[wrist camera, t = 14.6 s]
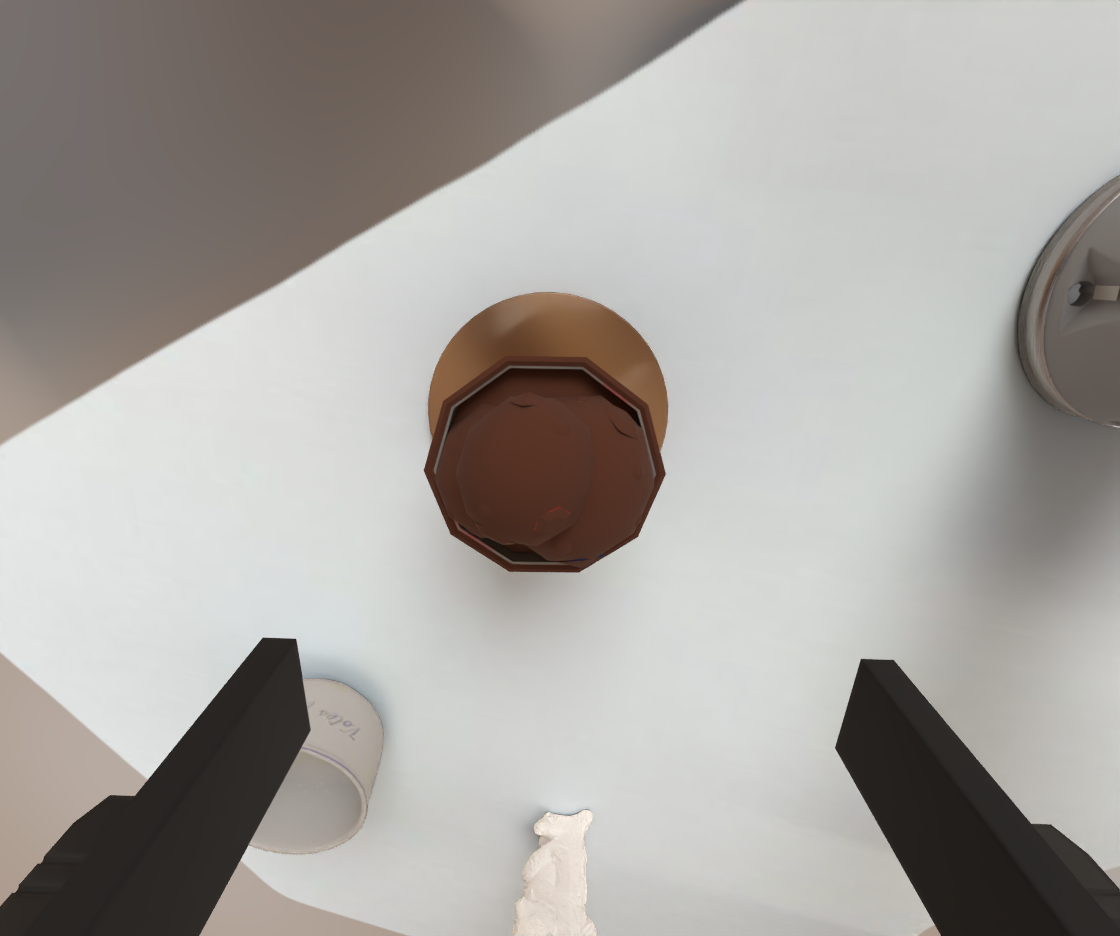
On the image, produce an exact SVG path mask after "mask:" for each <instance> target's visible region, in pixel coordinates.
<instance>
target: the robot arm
mask: <svg viewBox="0 0 1120 936" xmlns="http://www.w3.org/2000/svg"><path fill="white" fill-rule="evenodd" d="M1018 345H1019V353H1020V357H1021V361H1022V365H1023V368H1024V370H1025V373H1026V375H1027V377H1028V379H1029V381H1030V383H1031V384H1032V386H1033V387H1034V388H1035V390H1036V391H1037V392H1038V393H1039V394H1040V395H1041V396H1042V397H1043V399H1045V400H1046V401H1047V402H1048V403H1050V404H1051V405H1052V406H1054V407H1056V408H1057V409H1059V410H1061V411H1063V412H1065V413H1067V414H1070V415H1073V416H1076V417H1079V418H1083V419H1086V420H1089V421H1093V422H1096V423H1100V424H1103V425H1107V426H1112V427H1119V428H1120V175H1119V176H1117V177H1115V178H1114V179H1112V180H1111V181H1109V182H1108V183H1107V184H1105V185H1104V186H1103V187H1101V188H1100V189H1098V190H1097V191H1096V192H1095V193H1094V194H1093V195H1091V196H1090V197H1089V198H1088V199H1087V200H1085V201H1084V202H1083V203H1082V204H1081V205H1080V206H1079V207H1078V208H1077V209H1076V210H1075V211H1074V212H1073V213H1072V214H1071V216H1070V217H1069V218H1068V219H1067V220H1066V221H1065V222H1064V223H1063V225H1062V226H1061V227H1060V228H1059V230H1058V231H1057V232H1056V234H1055V235H1054V236H1053V238H1052V239H1051V241H1050V242H1049V244H1048V245H1047V247H1046V248H1045V250H1044V251H1043V253H1042V255H1041V257H1040V258H1039V260H1038V262H1037V264H1036V266H1035V268H1034V270H1033V272H1032V275H1031V277H1030V279H1029V282H1028V285H1027V287H1026V290H1025V293H1024V297H1023V301H1022V304H1021V309H1020V315H1019V324H1018ZM310 731H311V728H310V721H309V715H308V709H307V703H306V697H305V690H304V684H303V678H302V672H301V666H300V660H299V653H298V647H297V641H296V639H284V638H262V639H261V641H260V642H259V643H258V644H257V646H256V647H255V648H254V649H253V651H252V652H251V653H250V654H249V656H248V657H247V658H246V659H245V660H244V662H243V663H242V664H241V665H240V667H239V668H238V669H237V670H236V672H235V673H234V674H233V675H232V677H231V678H230V679H229V680H228V682H227V683H226V684H225V685H224V686H223V688H222V689H221V690H220V691H219V693H218V694H217V695H216V696H215V698H214V699H213V700H212V701H211V703H210V704H209V705H208V706H207V708H206V709H205V710H204V711H203V712H202V714H201V715H200V716H199V717H198V719H197V720H196V721H195V722H194V724H193V725H192V726H191V727H190V729H189V730H188V731H187V732H186V734H185V735H184V736H183V737H182V738H181V740H180V741H179V742H178V743H177V745H176V746H175V747H174V748H173V750H172V751H171V752H170V753H169V755H168V756H167V757H166V758H165V759H164V761H163V762H162V763H161V764H160V766H159V767H158V768H157V769H156V771H155V772H154V773H153V774H152V776H151V777H150V778H149V779H148V781H147V782H146V783H145V784H144V786H143V787H142V788H141V789H140V790H139V792H138V793H137V794H136V795H135V796H116V795H110V796H108V797H107V798H106V799H104V800H103V801H102V802H101V803H99V804H98V805H97V806H95V807H94V808H93V809H91V810H90V811H89V812H87V813H86V814H85V815H84V816H82V817H81V818H80V819H78V820H77V821H76V822H74V823H73V824H72V826H71V827H70V828H69V829H68V830H67V831H66V832H65V833H64V834H63V836H62V837H61V838H60V839H59V840H58V841H57V843H56V844H55V845H54V846H53V847H52V848H51V849H50V851H49V852H48V853H47V854H46V855H45V856H44V859H43V861H42V863H41V864H37V865H36V866H35V867H34V869H33V870H32V871H31V872H30V873H29V874H28V875H27V877H26V878H25V879H24V880H23V881H22V882H21V883H20V884H19V888H18V890H17V891H16V892H15V893H12V894H11V895H10V896H9V897H8V898H7V899H6V901H5V902H4V903H3V904H2V905H1V906H0V936H199V935H200V933H201V931H202V929H203V928H204V926H205V924H206V922H207V920H208V918H209V917H210V915H211V913H212V911H213V909H214V908H215V906H216V904H217V902H218V900H219V898H220V896H221V895H222V893H223V891H224V889H225V887H226V885H227V884H228V882H229V880H230V878H231V876H232V874H233V873H234V871H235V869H236V867H237V865H238V863H239V862H240V860H241V858H242V856H243V854H244V852H245V850H246V849H247V847H248V845H249V843H250V841H251V839H252V838H253V836H254V834H255V832H256V830H257V828H258V827H259V825H260V823H261V821H262V819H263V817H264V816H265V814H266V812H267V810H268V808H269V806H270V805H271V803H272V801H273V799H274V797H275V795H276V793H277V792H278V790H279V788H280V786H281V784H282V782H283V781H284V779H285V777H286V775H287V773H288V771H289V770H290V768H291V766H292V764H293V762H294V760H295V759H296V757H297V755H298V753H299V751H300V749H301V747H302V746H303V744H304V742H305V740H306V738H307V736H308V735H309V733H310ZM835 749H836V750H837V752H838V754H839V756H840V757H841V759H842V761H843V763H844V765H845V766H846V768H847V770H848V772H849V773H850V775H851V777H852V779H853V780H854V782H855V784H856V786H857V788H858V789H859V791H860V793H861V795H862V796H863V798H864V800H865V802H866V803H867V805H868V807H869V809H870V811H871V812H872V814H873V816H874V818H875V819H876V821H877V823H878V825H879V826H880V828H881V830H882V832H883V834H884V835H885V837H886V839H887V841H888V842H889V844H890V846H891V848H892V849H893V851H894V853H895V855H896V857H897V858H898V860H899V862H900V864H901V865H902V867H903V869H904V871H905V872H906V874H907V876H908V878H909V880H910V881H911V883H912V885H913V887H914V888H915V890H916V892H917V894H918V895H919V897H920V899H921V901H922V903H923V904H924V906H925V908H926V910H927V911H928V913H929V915H930V917H931V918H932V920H933V922H934V924H935V926H936V927H937V929H938V931H939V933H940V934H941V936H1120V889H1119V888H1118V887H1117V886H1116V885H1115V883H1114V882H1113V881H1112V880H1111V879H1110V878H1109V877H1108V876H1107V875H1106V873H1105V872H1104V871H1103V870H1102V869H1101V868H1100V867H1099V866H1098V864H1097V863H1096V862H1095V861H1094V860H1093V859H1092V858H1091V857H1090V855H1089V854H1087V853H1086V852H1085V851H1084V850H1082V849H1081V848H1080V847H1079V846H1077V845H1076V844H1075V843H1073V842H1072V841H1071V840H1070V839H1068V838H1067V837H1066V836H1065V835H1063V834H1062V833H1061V832H1060V831H1058V830H1057V829H1056V828H1054V827H1053V826H1052V825H1047V824H1031V823H1030V822H1029V821H1028V820H1027V818H1026V817H1025V816H1024V815H1023V814H1022V812H1021V811H1020V810H1019V809H1018V808H1017V806H1016V805H1015V804H1014V803H1013V802H1012V800H1011V799H1010V798H1009V797H1008V796H1007V795H1006V793H1005V792H1004V791H1003V790H1002V789H1001V787H1000V786H999V785H998V784H997V783H996V781H995V780H994V779H993V778H992V777H991V775H990V774H989V773H988V772H987V771H986V770H985V768H984V767H983V766H982V765H981V764H980V762H979V761H978V760H977V759H976V758H975V756H974V755H973V754H972V753H971V752H970V750H969V749H968V748H967V747H966V746H965V745H964V743H963V742H962V741H961V740H960V739H959V737H958V736H957V735H956V734H955V733H954V731H953V730H952V729H951V728H950V727H949V725H948V724H947V723H946V722H945V721H944V720H943V718H942V717H941V716H940V715H939V714H938V712H937V711H936V710H935V709H934V708H933V706H932V705H931V704H930V703H929V702H928V700H927V699H926V698H925V697H924V696H923V695H922V693H921V692H920V691H919V690H918V689H917V687H916V686H915V685H914V684H913V683H912V681H911V680H910V679H909V678H908V677H907V675H906V674H905V673H904V672H903V671H902V670H901V668H900V667H899V666H898V665H897V664H896V662H895V661H894V660H874V659H861V661H860V664H859V668H858V671H857V675H856V678H855V682H854V685H853V688H852V692H851V695H850V699H849V702H848V706H847V709H846V712H845V716H844V719H843V723H842V726H841V730H840V733H839V736H838V740H837V743H836V747H835Z"/></svg>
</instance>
